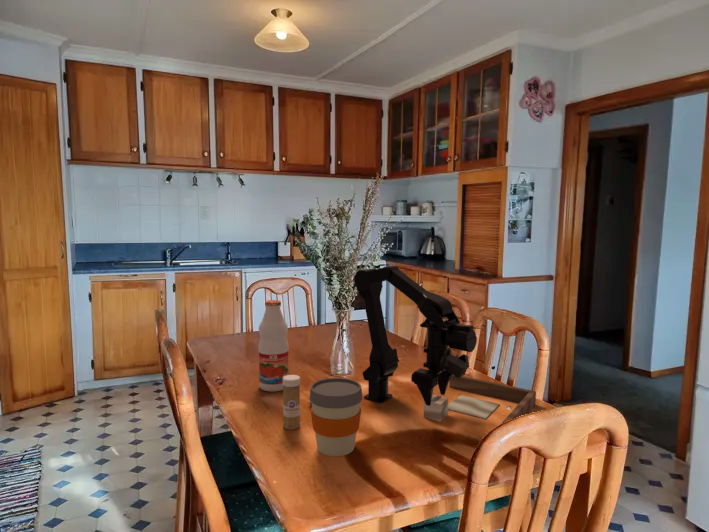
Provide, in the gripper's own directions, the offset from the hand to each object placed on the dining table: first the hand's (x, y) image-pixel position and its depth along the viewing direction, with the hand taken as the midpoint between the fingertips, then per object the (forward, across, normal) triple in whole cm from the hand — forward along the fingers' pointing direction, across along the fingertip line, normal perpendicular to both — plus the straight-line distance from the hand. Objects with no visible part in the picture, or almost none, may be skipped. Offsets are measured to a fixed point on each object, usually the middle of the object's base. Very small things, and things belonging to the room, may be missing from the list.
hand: (435, 399), depth 131 cm
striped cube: (+5, 0, 0) cm, 5 cm away
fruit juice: (+5, -10, +52) cm, 53 cm away
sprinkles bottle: (+5, -28, +28) cm, 40 cm away
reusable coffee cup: (+5, -30, +12) cm, 33 cm away
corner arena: (+5, +11, -7) cm, 14 cm away
